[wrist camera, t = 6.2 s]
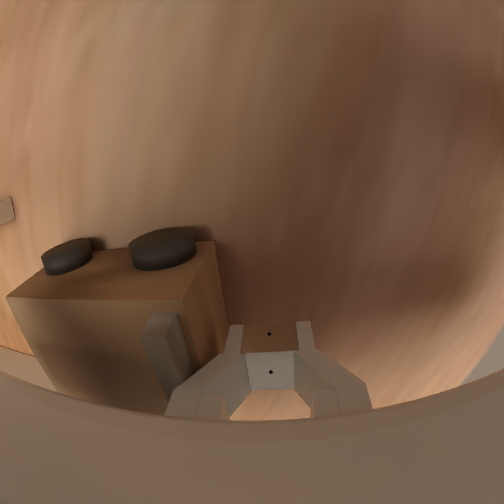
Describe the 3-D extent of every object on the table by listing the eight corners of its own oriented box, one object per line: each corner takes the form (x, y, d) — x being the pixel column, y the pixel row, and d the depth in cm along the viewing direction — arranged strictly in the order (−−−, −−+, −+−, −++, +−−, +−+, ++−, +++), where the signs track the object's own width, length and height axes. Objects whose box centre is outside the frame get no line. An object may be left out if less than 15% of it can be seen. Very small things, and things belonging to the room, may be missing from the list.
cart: (211, 223, 11) (162, 296, 6) (236, 366, 13) (221, 458, 8) (59, 241, 11) (-17, 292, 6) (104, 358, 14) (63, 424, 9)
